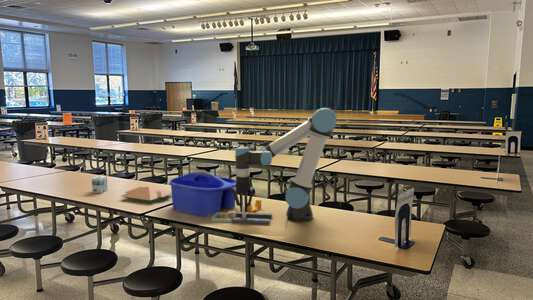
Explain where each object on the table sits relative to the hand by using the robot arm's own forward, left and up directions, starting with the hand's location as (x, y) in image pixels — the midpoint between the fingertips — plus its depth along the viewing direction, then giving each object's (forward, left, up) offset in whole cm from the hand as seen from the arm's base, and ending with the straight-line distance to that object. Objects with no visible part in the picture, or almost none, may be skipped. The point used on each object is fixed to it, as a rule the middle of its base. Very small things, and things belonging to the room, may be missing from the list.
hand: (244, 217), depth 205 cm
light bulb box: (+116, -51, -3) cm, 127 cm away
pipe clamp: (-3, -18, -3) cm, 18 cm away
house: (+75, -39, -3) cm, 85 cm away
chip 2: (+7, 0, -1) cm, 7 cm away
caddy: (+30, -23, -3) cm, 38 cm away
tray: (+12, -1, -2) cm, 12 cm away
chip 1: (+11, 0, -2) cm, 11 cm away
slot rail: (-5, 0, -2) cm, 5 cm away
